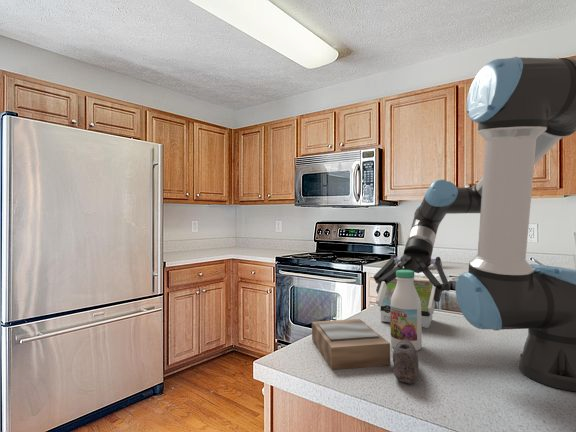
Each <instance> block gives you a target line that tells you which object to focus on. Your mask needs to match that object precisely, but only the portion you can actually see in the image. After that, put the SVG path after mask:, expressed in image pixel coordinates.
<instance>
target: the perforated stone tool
mask: <svg viewBox="0 0 576 432" xmlns="http://www.w3.org/2000/svg"><path fill="white" fill-rule="evenodd" d="M418 358H419V357H418V352H417V351H416V350H415V347H414V346H413V344H412V343H411V342H410V341H408V340H401V341H399V342H398V343H397V345H396V346H395V348H394V347H393V351H392V362H393V366H392V372H393V375H394V377H395V378H396V380H397V381H400V382H401V383H406V384H409V385H411V384H412V385H413V384H414V383H415V382H416V381H417V378H418V374H419V359H418Z"/></svg>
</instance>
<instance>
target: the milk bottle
mask: <svg viewBox="0 0 576 432" xmlns="http://www.w3.org/2000/svg"><path fill="white" fill-rule="evenodd" d="M414 275H415V272H414V271H412V270H397V271H396V279H397V284H396V288H395V290H394V292H393V294H392V298H391V309H390V314H391V322H390V346H392V348H393V349H394V348H395V346H396V345H397V343H398V342H399V341H401V340H408V341H410V342H411V343H412V344H413V346H414V347H415V350H416V352H417V351H419V350H421V349H422V345H423V344H422V343H423V341H422V338H423V336H422V333H423V332H422V329H423V327H421V303H420V298H419V296H418V293H417V291H416V289H415V286H414Z"/></svg>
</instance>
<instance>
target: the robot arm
mask: <svg viewBox="0 0 576 432" xmlns="http://www.w3.org/2000/svg"><path fill="white" fill-rule="evenodd" d="M466 113H467V114H468V115H467V116H468V118H469V119H470V120H471V121H472V122H474V123H478V124H477V134H479V135H480V136H481V137H482V138H483V139H484V141H485V142H484V155H483V156H484V157H483V169H482V171H483V173H482V177H481V178H480V179H479V180H478V181H477V182H476V183H475V185H474V186H471V187H460V186H459V187H458V186H457V185H456V184H454V183H453V182H451V181H449V180H448V181H447V180H446V179H437V180H434V181H433V182H432V183H431V184H430V185H429V187H428V188H427V190H426V192H425V194H424V196H423V200H422V202H421V203H419V204H418V205H417V207H416V210H415V212H414V214H413V219H412V224H411V227H410V229H409V233H408V237H407V240H406V244H405V247H404V250H403V254H402V256H397V255H396V254H395V253H394V254H392V255H391V256H390V257H389V260H388V261H387V262H386V263H385V264H384V265H383V266H382V267H381V268H380V269H379V270H378V271H377V272H376V273H375V274H374V275H373V280H374V281H375V283H376V284H377V286H376V288H375V290H376V294H377V295H376V299H375V302H376V304H377V306H378V307H381V306H382V302H383V299H384V296H385V293H386V289H387V286H386V284H387V283H389V282H390V281H392V280H393V279H395V278H396V271H397V270H412V271H414V274H415V273H416V274H420V273H423V274H424V275H423V276H426V277H427V278H428V279H429V280H430V282H431V283H432V284H433V286H432V291H431V295H430V300H429V304H428V310H429V313H430V314H432V315H433V314H434V311H435V307H436V303H439V302H440V301H441V297H442V294H443V293H442V292H444V291H445V292H450V291H451V287H450V282H449V281H448V279H447V276H446V274H445V272H444V269H443V263H442V260H441V257H440V256H436V258H432V255H433V250H434V245H435V242H436V238H437V233H438V229H439V226H440V224H441V222H442V221H443V219H444V218H445V216H446V215H447V214H449V215H450V214H451V215H452V214H453V215H454V214H455V215H456V214H480V218H479V229H478V230H479V231H478V242H477V243H478V245H477V255H476V256H475V257H473V258H472V259H470V260H469V262H468V271H466V272H463V273H461V274H459V275H458V276H457V278H456V281H455V289H454V290H455V297H456V302H457V304H458V308H459V310H460V311H461V313H462V315H463V317H464V318H465V320H466V321H467V322H468V323H469V324H470V326H472V327H474V328H476V329H479V330H493V331H501V330H503V331H504V330H527V332H528V333H527V336H526V337H527V338H526V339H525V343H524V346H523V349H522V350H523V351H522V353H520V355H519V359H518V364H519V365H518V367H519V371H520V372H521V374H523V375H525V376H526V377H527V378H530V379H532V380H533V381H536V382H538V383H539V384H543V385H546V386H549V387H551V388H556V389H560V390H564V391H569V392H576V269H572V268H566V267H559V266H554V265H553V266H551V265H545V264H537V263H535V264H534V263H528V261H527V259H526V258H527V246H528V237H529V228H530V227H529V225H530V216H531V215H530V214H531V204H532V193H533V181H534V168H535V166H536V165H537V163H538V162H539V161H540V160H541V159H542V158H543V157H544V156H546V155H547V153H548V152H549V151H550V150H551V149H552V148H553V147H554V146H555V145H556V144H557V143H558V142H559V141H560V140H562V138H566V137H570V136H572V135H573V134H574V133H576V58H572V57H558V58H557V57H554V58H551V57H550V58H549V57H547V58H545V57H518V56H512V57H508V58H506V57H505V58H496V59H492V60H491V61H488V62H487V63H486V64H484V66H482V68H481V69H480V70H479V71H478V73H477V74H476V75H475V78H474V79H473V80H472V82H471V85H470V87H469V91H468V94H467V99H466ZM431 265H432V266H433V267H434V268H436V270H437V273H438V275H439V277H440V280H441V282H439V280H438V279H437V277H435V275H434V274H433V273H432V272H431V270H430V269H429V267H430V266H431Z"/></svg>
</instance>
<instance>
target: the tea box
mask: <svg viewBox="0 0 576 432" xmlns="http://www.w3.org/2000/svg"><path fill="white" fill-rule="evenodd" d="M396 284H397V279H396V278H395V279H393V280H392V281H390V282H389V283H387V284H386V286H387V289H386V293H385V296H384V299H383V302H382V306H381V307H380V306H379V307H380V310H379V311H380V322H385V323H391V314H390V309H391V298H392V294H393V292H394V290H395V288H396ZM414 286H415V289H416V291H417V293H418V296H419V298H420V303H421V328H426V329H429V327H430V326H431V322H432V321H433V314H430V313H429V310H428V304H429V300H430V295H431V291H432V286H433V284H432V283H431V282H430V280H429V279H428V278H427V277H426V276H425V275H421V274H420V275H419V274H417V275H416V274H414Z"/></svg>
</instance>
